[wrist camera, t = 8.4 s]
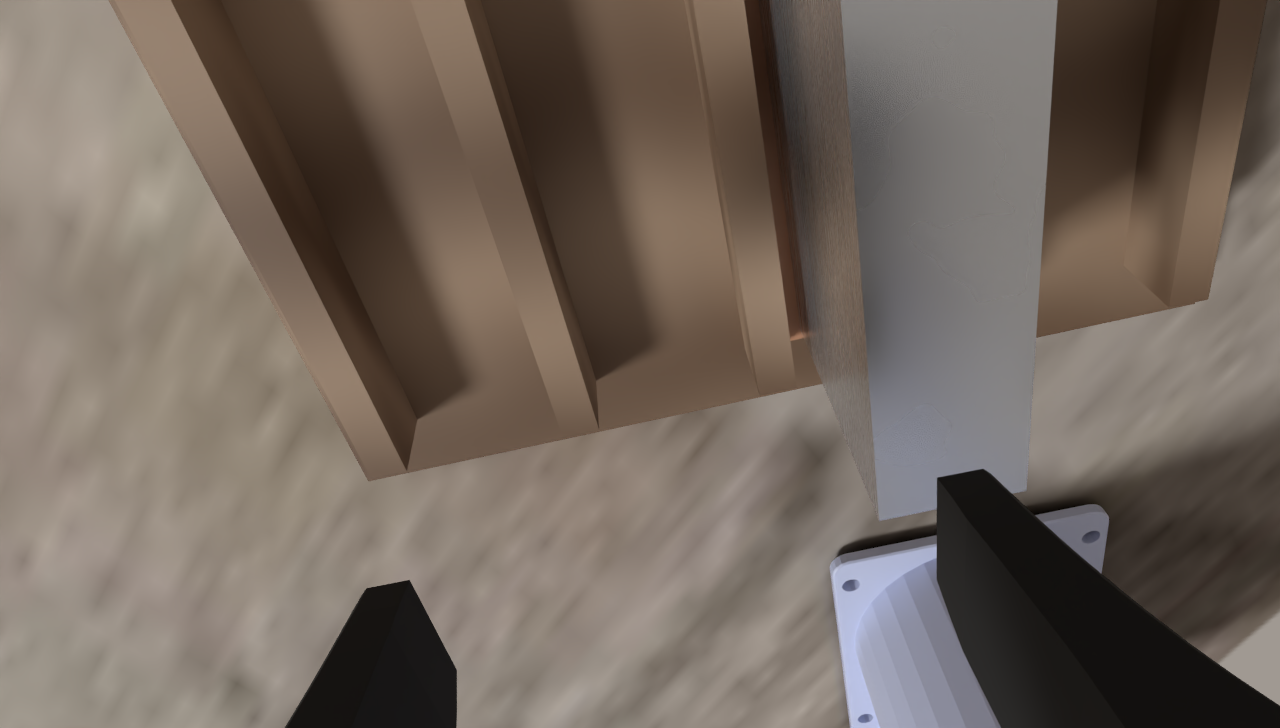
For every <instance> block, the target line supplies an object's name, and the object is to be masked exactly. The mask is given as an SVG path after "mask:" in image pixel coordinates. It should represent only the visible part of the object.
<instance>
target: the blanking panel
mask: <svg viewBox="0 0 1280 728" xmlns="http://www.w3.org/2000/svg"><path fill="white" fill-rule="evenodd" d="M758 1H759V9H760V16H761V24H762V32H763V40H764V48H765V56H766V64H767V72H768V80H769V87H770V95H771V103H772V111H773V119H774V127H775V135H776V143H777V151H778V158H779V166H780V174H781V182H782V190H783V198H784V206H785V214H786V222H787V230H788V237H789V245H790V253H791V261H792V269H793V277H794V285H795V293H796V301H797V308H798V316H799V324H800V330H801V332H802V335H803V337H804V340H805V342H806V345H807V347H808V349H809V352H810V354H811V357H812V359H813V361H814V364H815V366H816V369H817V371H818V374H819V376H820V378H821V381H822V383H823V386H824V388H825V391H826V393H827V395H828V398H829V400H830V403H831V405H832V407H833V410H834V412H835V415H836V417H837V420H838V422H839V424H840V427H841V429H842V432H843V434H844V437H845V439H846V441H847V444H848V446H849V449H850V451H851V453H852V456H853V458H854V461H855V463H856V466H857V468H858V470H859V473H860V475H861V478H862V480H863V483H864V485H865V487H866V490H867V492H868V495H869V497H870V499H871V502H872V504H873V507H874V509H875V512H876V514H877V516H878V519H879V521H881V520H886V519H891V518H896V517H901V516H906V515H910V514H915V513H920V512H925V511H930V510H935V509H937V478H938V477H943V476H948V475H953V474H958V473H963V472H969V471H974V470H979V469H985V470H986V471H988V472H989V473H991V474H992V475H993V476H994V477H995V478H996V479H997V480H998V481H999V482H1000V483H1001V484H1002V485H1003V486H1004V487H1005V488H1006V489H1007V490H1008V491H1010V492H1011V493H1012V494H1013V493H1018V492H1023V491H1026V489H1027V473H1028V458H1029V442H1030V426H1031V410H1032V395H1033V379H1034V363H1035V348H1036V332H1037V316H1038V301H1039V285H1040V269H1041V254H1042V238H1043V222H1044V206H1045V191H1046V175H1047V159H1048V144H1049V128H1050V112H1051V97H1052V81H1053V65H1054V50H1055V34H1056V18H1057V3H1058V0H758Z"/></svg>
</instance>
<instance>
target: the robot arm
mask: <svg viewBox="0 0 1280 728" xmlns="http://www.w3.org/2000/svg"><path fill="white" fill-rule="evenodd" d="M1108 526H1109V516H1108V515H1107V513H1106V512H1105V511H1104V509H1103V508H1102V507H1101V506H1100V505H1096V504H1088V505H1082V506H1077V507H1073V508H1068V509H1063V510H1058V511H1053V512H1048V513H1043V514H1038V515H1034V514H1033V513H1032V512H1031V511H1030V510H1029V509H1028V508H1026V507H1025V506H1024V505H1023V504H1022V503H1021V502H1020V501H1019V500H1018V499H1017V498H1016V497H1015V496H1014V495H1013V494H1012V493H1011V492H1010V491H1008V490H1007V489H1006V488H1005V487H1004V486H1003V485H1002V484H1001V483H1000V482H999V481H998V480H997V479H996V478H995V477H994V476H993V475H992V474H991V473H989V472H988V471H986V470H985V469H979V470H974V471H969V472H963V473H958V474H953V475H948V476H943V477H938V478H937V535H935V536H930V537H925V538H920V539H915V540H910V541H905V542H900V543H896V544H891V545H886V546H881V547H876V548H871V549H866V550H861V551H856V552H851V553H846V554H843V555H840V556H838V557H837V558H835V559H834V560H833V562H832V563H831V565H830V574H831V581H832V589H833V597H834V605H835V613H836V621H837V628H838V636H839V644H840V652H841V660H842V668H843V676H844V683H845V691H846V699H847V707H848V715H849V723H850V728H1280V706H1279V705H1278V704H1276V703H1275V702H1273V701H1272V700H1270V699H1269V698H1267V697H1266V696H1264V695H1263V694H1261V693H1260V692H1258V691H1257V690H1255V689H1254V688H1252V687H1251V686H1249V685H1248V684H1246V683H1245V682H1243V681H1242V680H1240V679H1239V678H1237V677H1236V676H1235V675H1233V674H1232V673H1230V672H1229V671H1227V670H1226V669H1225V668H1223V667H1222V666H1220V665H1219V664H1217V663H1216V662H1215V661H1213V660H1212V659H1210V658H1209V657H1208V656H1206V655H1205V654H1203V653H1202V652H1201V651H1199V650H1198V649H1197V648H1195V647H1194V646H1192V645H1191V644H1190V643H1188V642H1187V641H1186V640H1184V639H1183V638H1182V637H1180V636H1179V635H1178V634H1177V633H1175V632H1174V631H1173V630H1171V629H1170V628H1169V627H1167V626H1166V625H1165V624H1163V623H1162V622H1161V621H1159V620H1158V619H1157V618H1155V617H1154V616H1153V615H1152V614H1150V613H1149V612H1148V611H1146V610H1145V609H1144V608H1143V607H1141V606H1140V605H1139V604H1138V603H1136V602H1135V601H1134V600H1133V599H1131V598H1130V597H1129V596H1128V595H1126V594H1125V593H1124V592H1123V591H1122V590H1120V589H1119V588H1118V587H1117V586H1116V585H1114V584H1113V583H1112V582H1111V581H1110V580H1108V579H1107V578H1106V577H1105V576H1104V575H1102V567H1103V560H1104V554H1105V547H1106V540H1107V533H1108ZM848 580H849V581H848ZM456 720H457V670H456V668H455V666H454V664H453V662H452V660H451V658H450V656H449V655H448V653H447V651H446V649H445V647H444V645H443V643H442V641H441V639H440V637H439V635H438V633H437V632H436V630H435V628H434V626H433V624H432V622H431V620H430V618H429V616H428V614H427V612H426V611H425V609H424V607H423V605H422V603H421V601H420V599H419V597H418V595H417V593H416V591H415V590H414V588H413V586H412V584H411V582H410V580H408V581H402V582H397V583H392V584H387V585H382V586H377V587H371V588H367V589H366V590H365V591H364V593H363V594H362V596H361V598H360V599H359V601H358V603H357V604H356V606H355V608H354V610H353V611H352V613H351V615H350V617H349V618H348V620H347V622H346V624H345V626H344V627H343V629H342V631H341V633H340V634H339V636H338V638H337V640H336V642H335V643H334V645H333V647H332V649H331V650H330V652H329V654H328V656H327V657H326V659H325V661H324V663H323V664H322V666H321V668H320V670H319V671H318V673H317V675H316V676H315V678H314V680H313V682H312V683H311V685H310V687H309V689H308V690H307V692H306V693H305V695H304V697H303V698H302V700H301V702H300V703H299V705H298V707H297V708H296V710H295V712H294V713H293V715H292V717H291V718H290V720H289V722H288V723H287V725H286V727H285V728H456Z"/></svg>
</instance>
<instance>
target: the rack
mask: <svg viewBox="0 0 1280 728" xmlns="http://www.w3.org/2000/svg"><path fill="white" fill-rule="evenodd" d="M109 2H110V4H111V6H112V8H113V9H114V11H115V13H116V15H117V17H118V19H119V21H120V22H121V24H122V26H123V28H124V30H125V32H126V33H127V35H128V37H129V39H130V41H131V43H132V45H133V46H134V48H135V50H136V52H137V54H138V56H139V58H140V59H141V61H142V63H143V65H144V67H145V69H146V70H147V72H148V74H149V76H150V78H151V80H152V82H153V83H154V85H155V87H156V89H157V91H158V93H159V95H160V96H161V98H162V100H163V102H164V104H165V106H166V107H167V109H168V111H169V113H170V115H171V117H172V119H173V120H174V122H175V124H176V126H177V128H178V130H179V132H180V133H181V135H182V137H183V139H184V141H185V143H186V145H187V146H188V148H189V150H190V152H191V154H192V156H193V157H194V159H195V161H196V163H197V165H198V167H199V169H200V170H201V172H202V174H203V176H204V178H205V180H206V182H207V183H208V185H209V187H210V189H211V191H212V193H213V194H214V196H215V198H216V200H217V202H218V204H219V206H220V207H221V209H222V211H223V213H224V215H225V217H226V219H227V220H228V222H229V224H230V226H231V228H232V230H233V231H234V233H235V235H236V237H237V239H238V241H239V243H240V244H241V246H242V248H243V250H244V252H245V254H246V256H247V257H248V259H249V261H250V263H251V265H252V267H253V268H254V270H255V272H256V274H257V276H258V278H259V280H260V281H261V283H262V285H263V287H264V289H265V291H266V293H267V294H268V296H269V298H270V300H271V302H272V304H273V305H274V307H275V309H276V311H277V313H278V315H279V317H280V318H281V320H282V322H283V324H284V326H285V328H286V330H287V331H288V333H289V335H290V337H291V339H292V341H293V342H294V344H295V346H296V348H297V350H298V352H299V354H300V355H301V357H302V359H303V361H304V363H305V365H306V367H307V368H308V370H309V372H310V374H311V376H312V378H313V380H314V381H315V383H316V385H317V387H318V389H319V391H320V392H321V394H322V396H323V398H324V400H325V402H326V404H327V405H328V407H329V409H330V411H331V413H332V415H333V417H334V418H335V420H336V422H337V424H338V426H339V428H340V429H341V431H342V433H343V435H344V437H345V439H346V441H347V442H348V444H349V446H350V448H351V450H352V452H353V454H354V455H355V457H356V459H357V461H358V463H359V465H360V466H361V468H362V470H363V472H364V474H365V476H366V478H367V479H368V481H372V480H377V479H381V478H386V477H391V476H395V475H400V474H405V473H409V472H414V471H419V470H423V469H428V468H433V467H437V466H442V465H446V464H451V463H456V462H460V461H465V460H470V459H474V458H479V457H484V456H488V455H493V454H498V453H502V452H507V451H512V450H516V449H521V448H525V447H530V446H535V445H539V444H544V443H549V442H553V441H558V440H563V439H567V438H572V437H577V436H581V435H586V434H591V433H595V432H600V431H605V430H609V429H614V428H618V427H623V426H628V425H632V424H637V423H642V422H646V421H651V420H656V419H660V418H665V417H670V416H674V415H679V414H684V413H688V412H693V411H698V410H702V409H707V408H711V407H716V406H721V405H725V404H730V403H735V402H739V401H744V400H749V399H753V398H758V397H763V396H767V395H772V394H777V393H781V392H786V391H791V390H795V389H800V388H804V387H809V386H814V385H818V384H823V383H822V381H821V378H820V376H819V374H818V371H817V369H816V366H815V364H814V361H813V359H812V357H811V354H810V352H809V349H808V347H807V345H806V342H805V340H804V337H803V335H802V332H801V330H800V324H799V316H798V308H797V301H796V293H795V285H794V277H793V269H792V261H791V253H790V245H789V237H788V230H787V222H786V214H785V206H784V198H783V190H782V182H781V174H780V166H779V158H778V151H777V143H776V135H775V127H774V119H773V111H772V103H771V95H770V87H769V80H768V72H767V64H766V56H765V48H764V40H763V32H762V24H761V16H760V9H759V1H758V0H109ZM1266 3H1267V0H1058V3H1057V18H1056V34H1055V50H1054V65H1053V81H1052V97H1051V112H1050V128H1049V144H1048V159H1047V175H1046V191H1045V206H1044V222H1043V238H1042V254H1041V269H1040V285H1039V301H1038V316H1037V332H1036V338H1037V337H1042V336H1046V335H1051V334H1056V333H1060V332H1065V331H1069V330H1074V329H1079V328H1083V327H1088V326H1093V325H1097V324H1102V323H1107V322H1111V321H1116V320H1121V319H1125V318H1130V317H1135V316H1139V315H1144V314H1149V313H1153V312H1158V311H1162V310H1167V309H1172V308H1176V307H1181V306H1186V305H1190V304H1195V302H1198V301H1203V300H1207V299H1208V297H1209V292H1210V287H1211V282H1212V277H1213V272H1214V267H1215V262H1216V257H1217V252H1218V247H1219V242H1220V237H1221V231H1222V226H1223V221H1224V216H1225V211H1226V206H1227V201H1228V196H1229V191H1230V186H1231V181H1232V176H1233V171H1234V165H1235V160H1236V155H1237V150H1238V145H1239V140H1240V135H1241V130H1242V125H1243V120H1244V115H1245V110H1246V105H1247V99H1248V94H1249V89H1250V84H1251V79H1252V74H1253V69H1254V64H1255V59H1256V54H1257V49H1258V44H1259V39H1260V33H1261V28H1262V23H1263V18H1264V13H1265V8H1266Z"/></svg>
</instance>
